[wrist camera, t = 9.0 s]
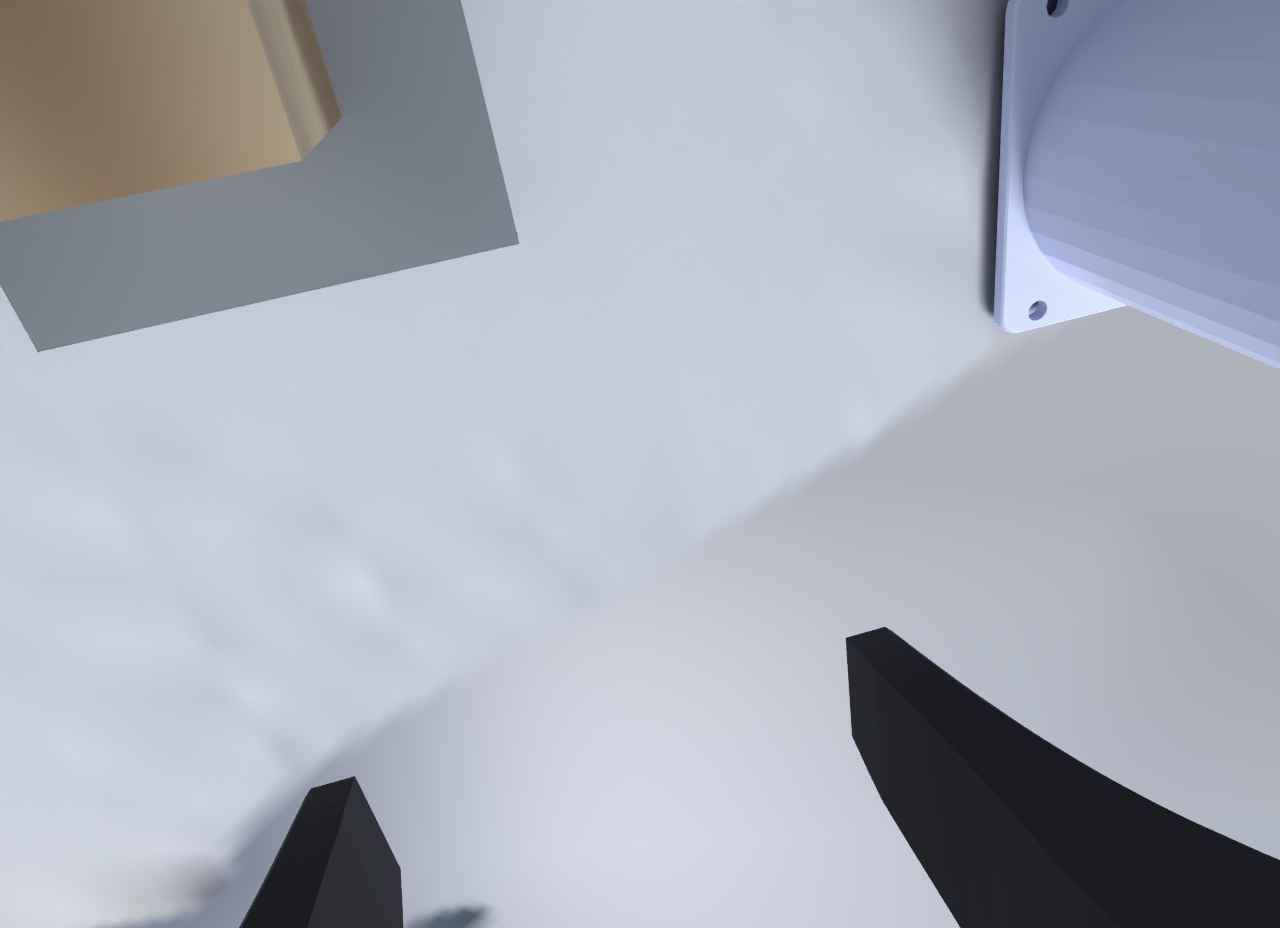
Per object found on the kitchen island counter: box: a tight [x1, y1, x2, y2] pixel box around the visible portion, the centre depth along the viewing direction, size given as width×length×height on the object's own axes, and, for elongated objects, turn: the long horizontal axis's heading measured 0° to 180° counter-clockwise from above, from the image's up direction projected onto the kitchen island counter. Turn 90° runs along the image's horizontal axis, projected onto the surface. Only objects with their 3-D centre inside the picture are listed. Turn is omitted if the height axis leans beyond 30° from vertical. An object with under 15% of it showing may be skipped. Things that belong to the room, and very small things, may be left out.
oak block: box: [0, 0, 342, 222], centre depth 11 cm, size 4×4×5 cm
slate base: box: [0, 0, 519, 352], centre depth 15 cm, size 9×9×2 cm
